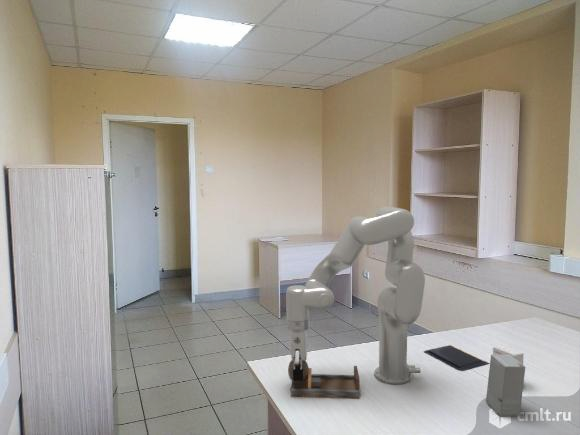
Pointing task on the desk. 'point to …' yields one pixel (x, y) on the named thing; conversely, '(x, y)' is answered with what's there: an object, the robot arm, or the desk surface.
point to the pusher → (312, 380)
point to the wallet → (456, 358)
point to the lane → (329, 387)
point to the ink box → (508, 352)
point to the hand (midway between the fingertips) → (298, 374)
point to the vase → (304, 367)
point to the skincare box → (505, 384)
